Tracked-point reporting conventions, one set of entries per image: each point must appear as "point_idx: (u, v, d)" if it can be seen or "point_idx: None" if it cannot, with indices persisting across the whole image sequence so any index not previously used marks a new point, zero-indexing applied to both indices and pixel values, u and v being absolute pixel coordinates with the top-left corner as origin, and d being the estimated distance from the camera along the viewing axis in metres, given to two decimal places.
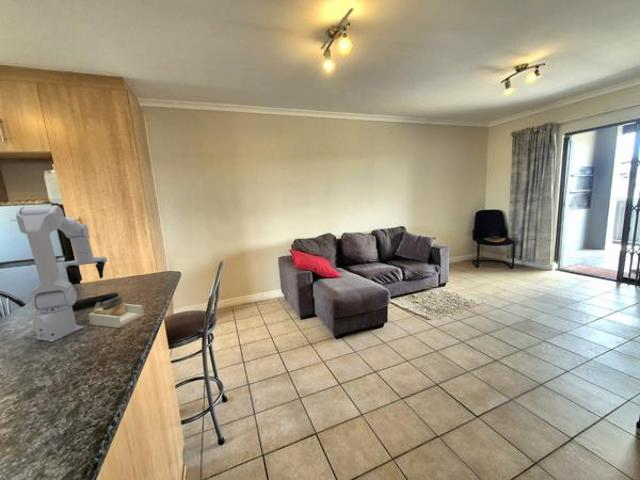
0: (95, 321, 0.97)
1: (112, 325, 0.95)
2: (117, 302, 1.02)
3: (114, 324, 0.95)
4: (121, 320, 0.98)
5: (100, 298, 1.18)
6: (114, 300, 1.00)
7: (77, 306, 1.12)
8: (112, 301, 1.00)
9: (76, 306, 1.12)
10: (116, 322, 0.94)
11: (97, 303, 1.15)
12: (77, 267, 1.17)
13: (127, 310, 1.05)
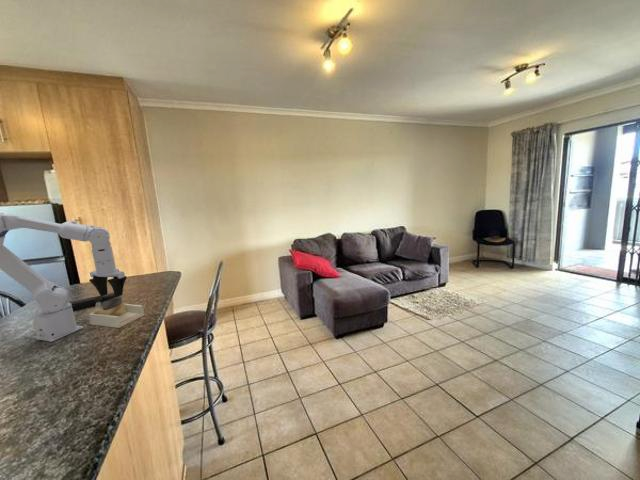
0: (95, 321, 0.97)
1: (112, 325, 0.95)
2: (117, 302, 1.02)
3: (114, 324, 0.95)
4: (121, 320, 0.98)
5: (100, 298, 1.18)
6: (114, 300, 1.00)
7: (77, 306, 1.12)
8: (112, 301, 1.00)
9: (76, 306, 1.12)
10: (116, 322, 0.94)
11: (97, 303, 1.15)
12: (102, 279, 1.01)
13: (127, 310, 1.05)
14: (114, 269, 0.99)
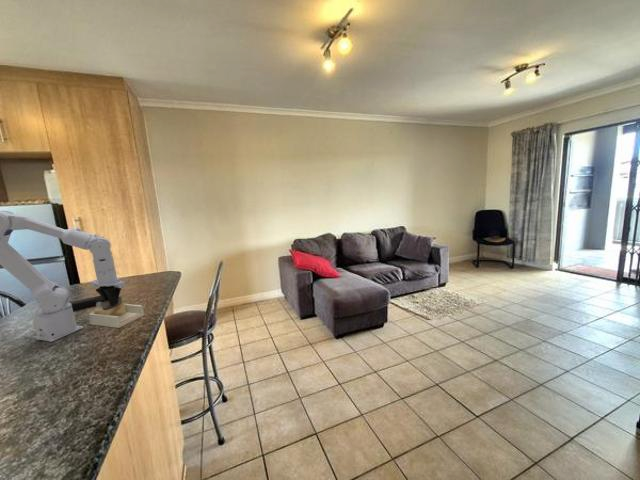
0: (95, 321, 0.97)
1: (112, 325, 0.95)
2: None
3: (114, 324, 0.95)
4: (121, 320, 0.98)
5: (100, 298, 1.18)
6: None
7: (77, 306, 1.12)
8: None
9: (77, 306, 1.12)
10: (116, 322, 0.94)
11: (98, 303, 1.15)
12: None
13: (127, 310, 1.05)
14: (115, 279, 0.99)
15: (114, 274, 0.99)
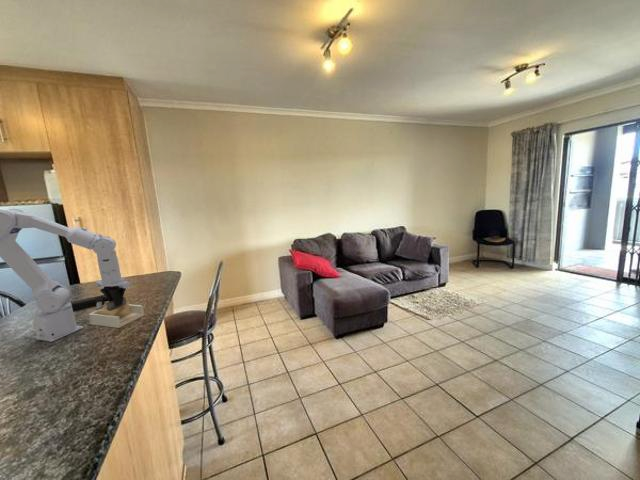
0: (95, 321, 0.97)
1: (112, 325, 0.95)
2: None
3: (114, 324, 0.95)
4: (121, 320, 0.98)
5: (100, 298, 1.18)
6: None
7: (78, 306, 1.12)
8: None
9: (77, 306, 1.12)
10: (116, 322, 0.94)
11: (98, 303, 1.15)
12: None
13: None
14: (120, 279, 0.98)
15: (119, 274, 0.98)
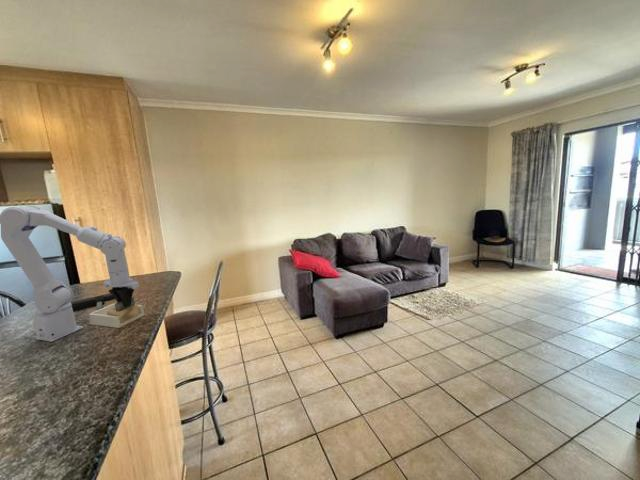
0: (95, 321, 0.97)
1: (112, 325, 0.95)
2: None
3: (114, 324, 0.95)
4: None
5: (100, 298, 1.18)
6: None
7: (78, 306, 1.12)
8: None
9: (77, 306, 1.12)
10: (116, 322, 0.94)
11: (98, 303, 1.15)
12: None
13: None
14: (128, 279, 0.97)
15: (127, 275, 0.97)
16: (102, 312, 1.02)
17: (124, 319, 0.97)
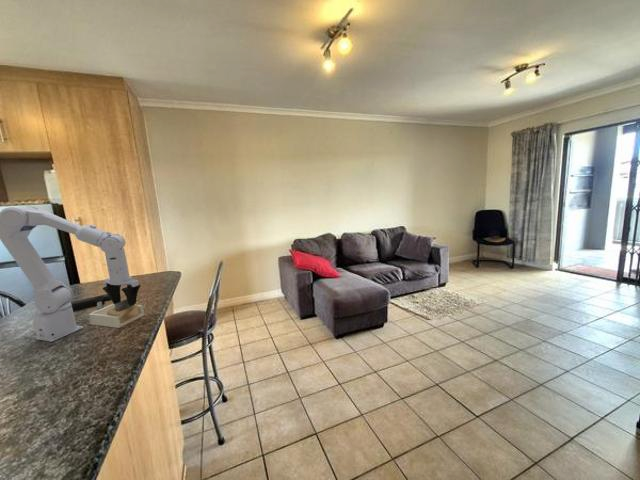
0: (95, 321, 0.97)
1: (112, 325, 0.95)
2: None
3: (114, 324, 0.95)
4: None
5: (101, 298, 1.18)
6: (127, 301, 0.99)
7: (78, 306, 1.12)
8: (125, 302, 0.98)
9: (77, 306, 1.12)
10: (116, 322, 0.94)
11: (98, 303, 1.15)
12: (116, 287, 0.99)
13: None
14: (128, 277, 0.97)
15: (127, 272, 0.97)
16: (102, 312, 1.02)
17: (124, 319, 0.97)
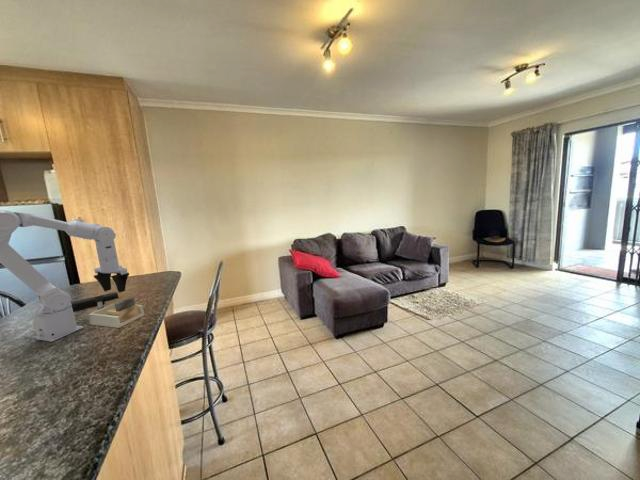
0: (95, 321, 0.97)
1: (112, 325, 0.95)
2: (130, 303, 1.00)
3: (114, 324, 0.95)
4: None
5: (101, 298, 1.18)
6: (127, 301, 0.99)
7: (78, 306, 1.12)
8: (125, 302, 0.98)
9: (77, 306, 1.12)
10: (116, 322, 0.94)
11: (99, 303, 1.15)
12: (106, 275, 1.06)
13: None
14: (117, 266, 1.04)
15: (116, 261, 1.03)
16: (102, 312, 1.02)
17: (124, 319, 0.97)
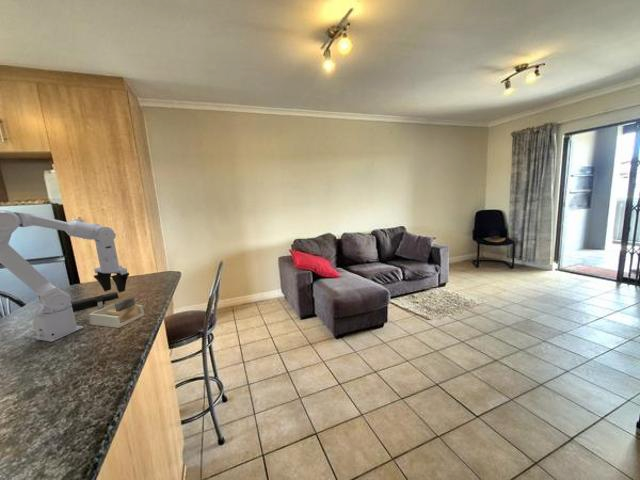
0: (95, 321, 0.97)
1: (112, 325, 0.95)
2: (130, 303, 1.00)
3: (114, 324, 0.95)
4: None
5: (101, 298, 1.18)
6: (127, 301, 0.99)
7: (78, 306, 1.12)
8: (125, 302, 0.98)
9: (77, 306, 1.12)
10: (116, 322, 0.94)
11: (99, 303, 1.15)
12: (106, 275, 1.06)
13: None
14: (117, 266, 1.04)
15: (116, 261, 1.03)
16: (102, 312, 1.02)
17: (124, 319, 0.97)
